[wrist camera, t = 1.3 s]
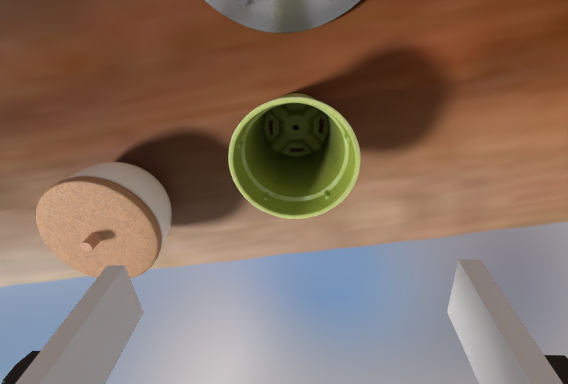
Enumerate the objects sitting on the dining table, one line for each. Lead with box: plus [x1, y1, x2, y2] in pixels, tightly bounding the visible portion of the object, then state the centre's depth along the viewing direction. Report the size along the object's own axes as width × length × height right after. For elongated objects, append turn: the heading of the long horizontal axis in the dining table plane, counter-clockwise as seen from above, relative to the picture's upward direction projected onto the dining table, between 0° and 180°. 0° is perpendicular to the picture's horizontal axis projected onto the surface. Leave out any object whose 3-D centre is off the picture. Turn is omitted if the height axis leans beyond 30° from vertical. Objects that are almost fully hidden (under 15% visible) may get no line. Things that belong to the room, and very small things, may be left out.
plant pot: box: [228, 93, 361, 219], centre depth 28 cm, size 9×9×9 cm
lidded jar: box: [36, 162, 172, 278], centre depth 32 cm, size 11×11×9 cm
